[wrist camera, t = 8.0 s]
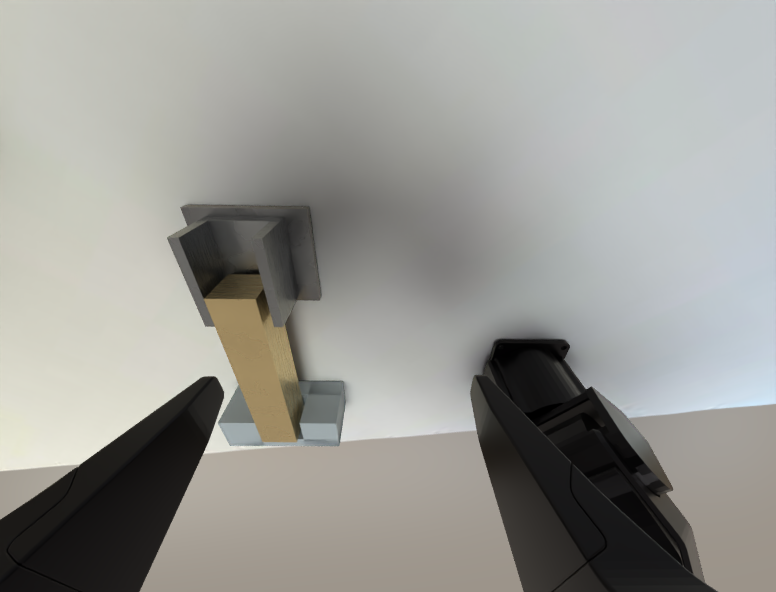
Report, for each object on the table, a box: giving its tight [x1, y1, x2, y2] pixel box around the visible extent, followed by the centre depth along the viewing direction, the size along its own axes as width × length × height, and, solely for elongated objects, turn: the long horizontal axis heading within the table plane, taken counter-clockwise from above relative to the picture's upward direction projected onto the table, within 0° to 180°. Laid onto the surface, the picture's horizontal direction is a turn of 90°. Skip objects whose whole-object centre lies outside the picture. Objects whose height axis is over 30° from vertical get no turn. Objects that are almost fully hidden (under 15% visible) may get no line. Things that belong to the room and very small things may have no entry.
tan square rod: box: [204, 274, 304, 442], centre depth 22 cm, size 3×15×3 cm, turn 179°
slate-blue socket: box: [218, 381, 345, 446], centre depth 27 cm, size 10×4×4 cm, turn 89°
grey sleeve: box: [167, 205, 321, 327], centre depth 18 cm, size 8×7×4 cm
